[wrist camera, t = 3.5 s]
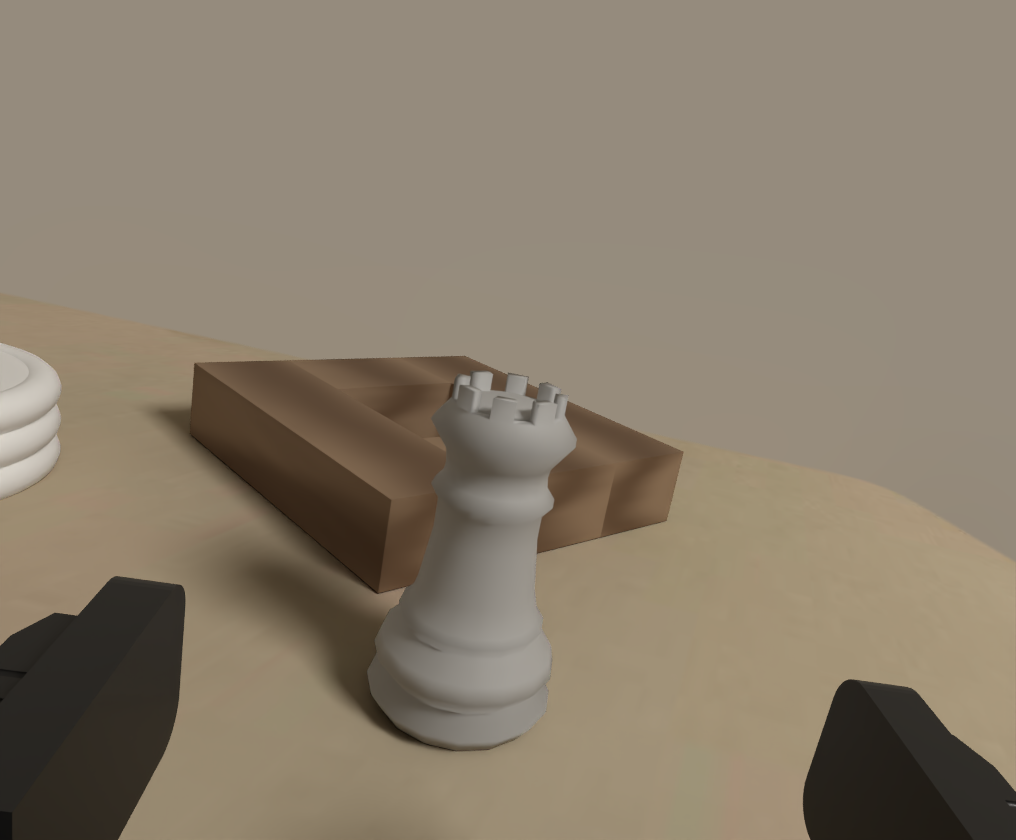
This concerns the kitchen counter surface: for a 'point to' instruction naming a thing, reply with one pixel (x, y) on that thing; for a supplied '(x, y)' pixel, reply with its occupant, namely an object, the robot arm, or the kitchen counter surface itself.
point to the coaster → (27, 419)
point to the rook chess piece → (478, 575)
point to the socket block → (402, 456)
